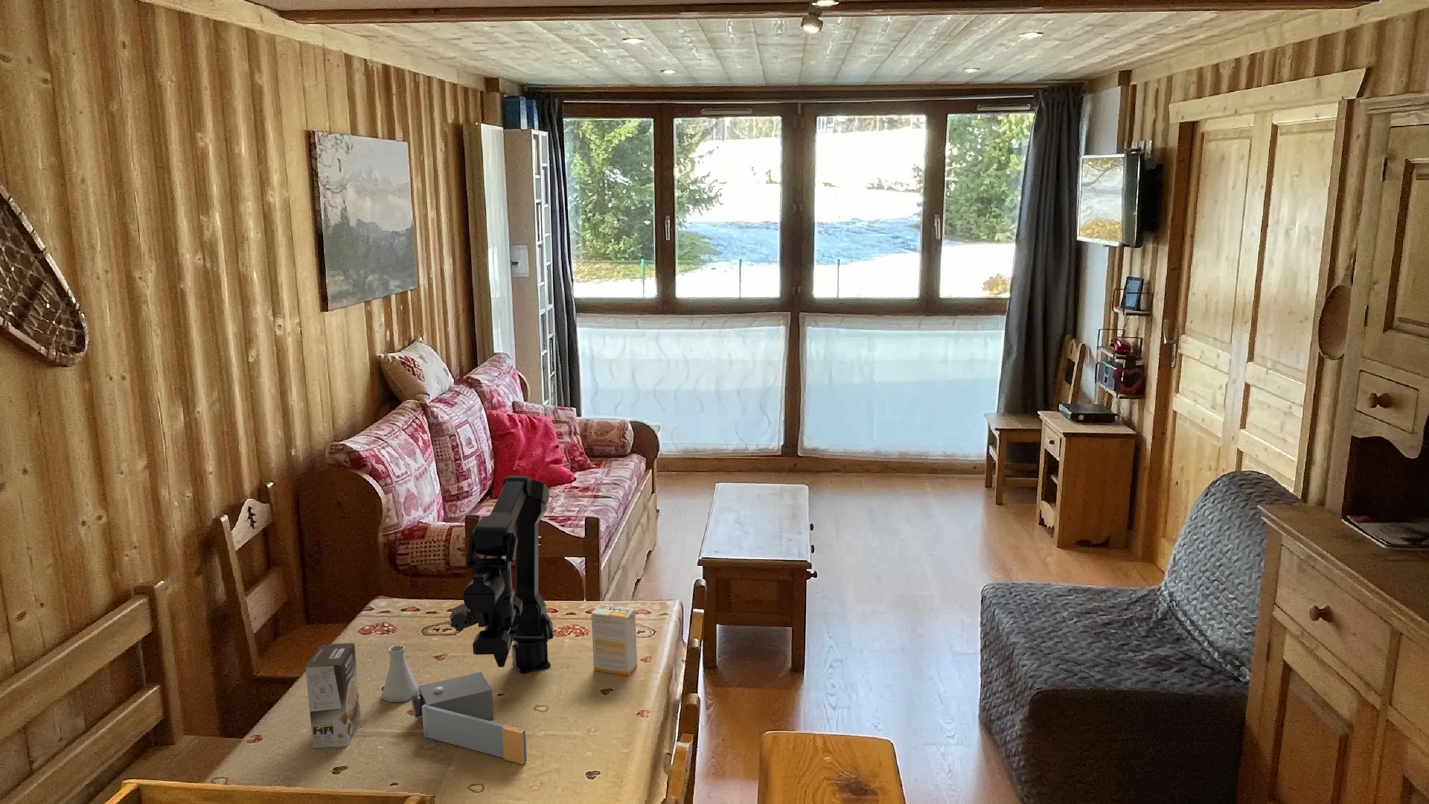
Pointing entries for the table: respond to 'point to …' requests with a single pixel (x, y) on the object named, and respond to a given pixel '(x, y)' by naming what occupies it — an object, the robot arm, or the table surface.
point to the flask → (399, 678)
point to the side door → (475, 733)
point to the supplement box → (614, 639)
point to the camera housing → (457, 696)
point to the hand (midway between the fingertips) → (501, 666)
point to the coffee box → (333, 695)
